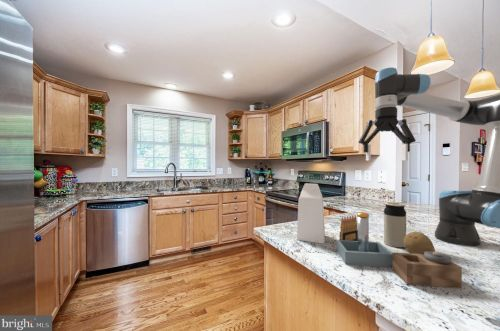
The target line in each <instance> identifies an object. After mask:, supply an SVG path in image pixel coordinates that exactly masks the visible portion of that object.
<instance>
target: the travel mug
mask: <svg viewBox="0 0 500 331" xmlns="http://www.w3.org/2000/svg"><path fill="white" fill-rule="evenodd" d="M384 205H385V208H384V209H383V243H384V244H385V245H387V246H390V247H393V248H401V249H402V248H405V246H404V244H403V240H404V238H405V236H406V235H407V211H406V210H405V206H406V204H405V203H401V202H394V201H392V202H391V201H389V202H387V201H386V202H384Z"/></svg>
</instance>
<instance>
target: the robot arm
mask: <svg viewBox="0 0 500 331" xmlns="http://www.w3.org/2000/svg"><path fill="white" fill-rule="evenodd" d="M431 81H432V80H431V77H430V76H429V75H428V74H427V73H426V74H424V73H411V74H410V73H409V74H408V73H407V74H400V73H399V74H398V69H397V68H396V67H392V66H391V67H386V68H382V69H380V70H379V71H377V72H376V74H375V78H374V90H375V91H374V93H375V95H374V98H375V100H374V104H375V105H374V108H375V111H374V116H375V117H374V118H375V120H372V119H369V120H368V121H366V126H365V129H364V130H363V133H362V134H361V136H360V138H359V140H358V143H359V144H362V145H363V153H365V161H371V160H372V159H371V158H372V156H371V152H372V151H371V149H372V148H371V146H372V145H371V144H370V142H371V141H372V140H374V138H375V136H377V134H378V133H379V132H391V133H393V134H394V135H395V136H396V137H397V138H398V139H399V140H400V141H401V142H402V144H401V161H408V160H409V157H408V156H409V155H408V154H409V153H410V151H411V146H410V145H411V144H412V143H414V142H416V138H415V137H414V134H413V132H412V131H411V129H410V128H409V126H408V124H407V122H408V121H407V119H405V118H403V119H400V120H399V119H398V107H397V106H399V107H402V108H406V109H412V110H415V111H419V112H423V113H428V114H433V115H437V116H441V117H445V118H448V119H449V120H450V121H453V122H456V123H461V124H465V125H466V124H467V125H471V126H484V127H485V128H487V129H488V135H487V139H486V145H485V148H484V149H485V150H484V155H483V160H482V163H481V164H482V165H481V170H480V176H479V180H478V185H477V186H476V187H474V188H472V189H471V190H441V191H440V192H439V197H438V210H439V213H438V215H439V217H438V219H439V221H438V224H437V225H436V226H437V227H436V229H435V230H434V238H436V239H437V240H440V241H443V242H445V243H450V244H455V245H458V246H459V245H460V246H465V247H466V246H469V247H479V246H481V244H482V240H481V238H480V235H479V233H478V231H477V228H476V224H479V225H483V226H486V227H489V228H496V229H500V93H499V94H495V95H493V96H489V97H486V98H482V99H477V100H467V99H461V100H455V99H450V98H446V97H443V96H437V95H433V94H428V93H426V92H427V91H428V90H429V88H430V86H431ZM397 125H398V126H399V127H400V128H399V127H398V126H397ZM373 126H375V129H374V130H373V131H372V132H371V134H370V135H369V133H370V131H371V129H372V127H373ZM400 129H401V130H400ZM368 135H369V136H368Z"/></svg>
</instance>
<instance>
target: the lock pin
mask: <svg viewBox="0 0 500 331" xmlns="http://www.w3.org/2000/svg"><path fill="white" fill-rule="evenodd" d="M356 214H357V216H356V217H357V230H358V252H369V242H370V241H369V240H370V239H369V238H370V237H369V228H370V226H369V221H370V219H369V218H370V214H369V213H368V212H366V211H365V212H363V211H358V212H356Z"/></svg>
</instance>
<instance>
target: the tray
mask: <svg viewBox="0 0 500 331" xmlns="http://www.w3.org/2000/svg"><path fill="white" fill-rule="evenodd" d="M335 241H336V243H335V244H336V249H335V251H336V252H337V253H338V255H339V257H340V258H341V259H342V261H343V263H344V264H345V265H356V266H368V267H369V266H370V267H382V268H383V267H386V268H393V266H392V252H393V251H391V250H390V249H388V248H387V247H386V246H385V245H383V244H382V243H381V242H380V241H369V252H358V241H348V240H340V239H336V240H335Z"/></svg>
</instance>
